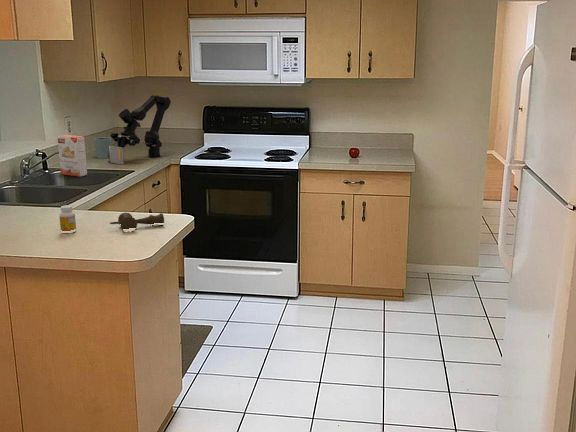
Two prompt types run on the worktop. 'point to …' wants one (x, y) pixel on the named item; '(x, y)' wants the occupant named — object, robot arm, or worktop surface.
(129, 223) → the kendama
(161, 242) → the worktop surface
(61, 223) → the supplement bottle
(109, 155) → the camera box
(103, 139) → the drinking glass
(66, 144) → the cracker box
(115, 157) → the pale grey square case
